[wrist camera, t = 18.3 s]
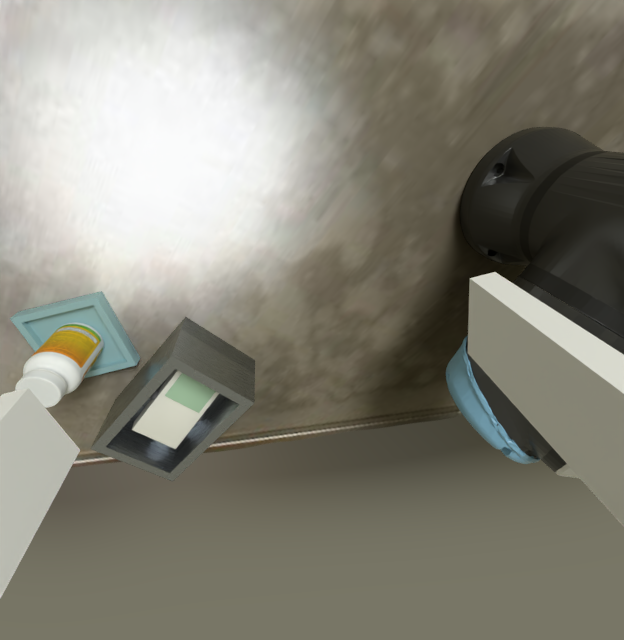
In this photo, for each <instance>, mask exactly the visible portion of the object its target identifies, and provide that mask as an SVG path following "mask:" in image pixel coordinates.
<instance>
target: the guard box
mask: <svg viewBox="0 0 624 640" xmlns="http://www.w3.org/2000/svg"><path fill="white" fill-rule="evenodd" d="M175 369H176V370H178V371H180V372H181V373H183V374H185V375H187V376H189V377H191V378H192V379H194V380H196V381H198V382H200V383H201V384H203V385H205V386H207V387H209V388H211V389H212V390H214V391H216V392H218V393H219V394H218V396H217V397H216V398H215V400H214V401H213V402H212V403H211V405H210V406H209V407H208V408H207V410H206V411H205V412H204V414H203V418H202V419H201V421H200V422H196V424H195V425H194V426H193V428H192V429H191V430H190V431H189V433H188V434H187V435H186V436H185V438H184V439H183V440H182V442H181V443H180V444H179V445H178V447H177V448H176V449H174V448H172V447H169V446H167V445H165V444H163V443H160V442H158V441H156V440H154V439H151V438H149V437H147V436H145V435H142V434H140V433H138V432H135V431H133V430H132V427H133V423H134V421H135V420H136V418H137V417H138V416H139V414H140V413H141V412H142V411H143V409H144V408H145V407H146V405H147V404H148V403H149V402H150V400H151V399H150V397H151V395H152V394H153V393H154V392H155V391H156V390H159V389H160V387H161V386H162V385H163V383H164V382H165V381H166V380H167V378H168V377H169V376H170V374H171V373H172V372H173V371H174V370H175ZM254 383H255V360H253V359H252V358H250V357H248V356H247V355H245V354H244V353H242V352H241V351H239V350H237V349H236V348H234V347H233V346H231V345H229V344H228V343H226V342H225V341H223V340H221V339H220V338H218V337H217V336H215V335H214V334H212V333H210V332H209V331H207V330H206V329H204V328H202V327H201V326H199V325H198V324H196V323H194V322H193V321H191V320H190V319H188V318H187V317H185V318H184V320H183V321H182V322H181V323H180V324H179V326H178V327H177V328H176V329H175V330H174V331H173V333H172V334H171V335H170V336H169V337H168V338H167V340H166V341H165V342H164V343H163V344H162V346H161V347H160V348H159V349H158V350H157V351H156V353H155V354H154V355H153V356H152V357H151V359H150V360H149V361H148V362H147V363H146V364H145V366H144V367H143V368H142V369H141V370H140V371H139V373H138V374H137V375H136V376H135V377H134V379H133V380H132V381H131V382H130V383H129V384H128V386H127V387H126V388H125V389H124V390H123V391H122V393H121V394H120V395H119V396H118V397H117V399H116V400H115V402H114V404H113V406H112V408H111V410H110V412H109V413H108V415H107V417H106V419H105V421H104V423H103V425H102V427H101V429H100V431H99V433H98V435H97V437H96V439H95V441H94V443H93V445H92V447H91V449H92V450H95V451H97V452H100V453H102V454H105V455H107V456H110V457H112V458H115V459H117V460H120V461H122V462H125V463H128V464H130V465H132V466H135V467H138V468H140V469H143V470H145V471H148V472H150V473H153V474H155V475H158V476H160V477H163V478H165V479H168V480H170V481H174V480H175V479H176V478H177V477H178V476H179V475H180V474H181V473H182V472H183V471H184V470H185V469H186V468H187V467H188V466H189V465H190V464H191V463H193V462H194V460H196V459H197V458H198V457H199V456H200V455H201V454H202V453H203V452H204V451H205V450H206V449H207V448H208V447H209V446H210V445H211V444H212V443H213V442H214V441H215V440H216V439H217V438H218V437H219V436H220V435H222V434H223V433H224V432H225V431H226V430H227V429H228V428H229V427H230V426H231V425H232V424H233V423H234V422H235V421H236V420H237V419H238V418H239V417H240V416H241V415H242V414H243V413H244V412H245V411H246V410H247V409H248V408H249V407H251V406H252V405H253V404H254Z"/></svg>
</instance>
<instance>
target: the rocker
mask: <svg viewBox="0 0 624 640" xmlns="http://www.w3.org/2000/svg"><path fill="white" fill-rule="evenodd" d="M218 394H219V393H218V392H216V391H214V390H212V389H211V388H209V387H207V386H205V385H203V384H201V383H200V382H198V381H196V380H194V379H192V378H191V377H189V376H187V375H185V374H183V373H181V372H180V371H178V370H176V369H175V370H174V371H173V372H172V373H171V374H170V376H169V377H168V378H167V380H166V381H165V382H164V383H163V385H162V386H161V387H160V389H159V390H156V391H155V392H154V393H153V394H152V395H151V397H150V399H151V400H150V402H149V403H148V404H147V405H146V407H145V408H144V409H143V411H142V412H141V413H140V414H139V416H138V417H137V418H136V420H135V421H134V423H133V427H132V430H133V431H135V432H138V433H140V434H142V435H145V436H147V437H149V438H151V439H154V440H156V441H158V442H160V443H163V444H165V445H167V446H169V447H172V448H174V449H176V448H177V447H178V445H179V444H180V443H181V442H182V440H183V439H184V438H185V436H186V435H187V434H188V433H189V431H190V430H191V429H192V428H193V426H194V425H195V424H196V422H200V421H201V419H202V418H203V414H204V412H205V411H206V410H207V408H208V407H209V406H210V405H211V403H212V402H213V401H214V400H215V398H216V397H217V396H218Z"/></svg>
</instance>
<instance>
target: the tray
mask: <svg viewBox="0 0 624 640" xmlns="http://www.w3.org/2000/svg"><path fill="white" fill-rule="evenodd" d="M10 319H11V321H12V322H13V323H14V324H15V326H16V327H17V328H18V330H19V331H20V332H21V334H22V335H23V336H24V338H25V339H26V340H27V342H28V343H29V344H30V345H31V347H32V348H33V349H34V351H35V352H36V351H37V350H38V349H39V348H40V347H41V346H42V345H43V344H44V343H45V342H46V341H47V340H48V339H49V338H50V336H51V335H52V334H53V333H54V332H55V331H56V330H57V329H58V328H59V327H61V326H62V325H64V324H67V323H73V322H77V323H83V324H86V325H89V326H91V327H93V328H94V329H95V330H96V331H98V332H99V334H100V335H101V337H102V338H103V342H104V348H103V350H102V352H101V354H100V356H99V357H98V359H97V360H96V362H95V363H94V364H93V366H92V367H91V369H90V370H89V372H88V373H87V375H86V376H85V378H87V377H91V376H96V375H100V374H104V373H108V372H112V371H116V370H120V369H124V368H128V367H132V366H136V365H137V363H138V361H139V359H140V357H139V355H138V353H137V351H136V350H135V348H134V346H133V345H132V343H131V341H130V339H129V338H128V336H127V334H126V332H125V331H124V329H123V327H122V325H121V324H120V322H119V320H118V319H117V317H116V315H115V313H114V312H113V310H112V308H111V306H110V305H109V303H108V301H107V299H106V298H105V296H104V294H103V293H102V291H101V292H97V293H93V294H89V295H85V296H81V297H77V298H73V299H69V300H64V301H60V302H56V303H52V304H48V305H44V306H40V307H36V308H32V309H28V310H24V311H20V312H17V313H16V314H15V315H14V316H12V317H11V318H10Z"/></svg>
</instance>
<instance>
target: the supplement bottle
mask: <svg viewBox="0 0 624 640" xmlns="http://www.w3.org/2000/svg"><path fill="white" fill-rule="evenodd" d="M103 348H104V342H103V338H102V337H101V335H100V334H99V332H98V331H96V330H95V329H94V328H93V327H91V326H89V325H86V324H83V323H77V322H73V323H67V324H64V325H62V326H61V327H59V328H58V329H57V330H56V331H55V332H54V333H53V334H52V335H51V336H50V338H49V339H48V340H47V341H46V342H45V343H44V344H43V345H42V346H41V347H40V348H39V349H38V350H37V351H36V352H35V353H34V354H33V355H32V356H31V357H30V358H29V360H28V361H27V362H26V363H25V365H24V368H23V377H22V378H21V379H20V380H19V381H18V383H17V385H16V389H15V390H16V391H18V390H22V389H26V388H29V389H30V390H31V391H32V393H33V394H34V395H35V396H36V397H37V399H38V400H39V401H40V402H41V403H42V405H43V406H44V407H45V408H47V407H51V406H54V405H56V404H57V403H58V402H59V401H60V400H61V399H62V397H63V396H64V395H65V394H68V393H71V392H73V391H74V390H75V389H76V388H77V387H78V386H79V385H80V384H81V382H82V381H83V379H84V378H85V376H86V375H87V373H88V372H89V370H90V369H91V367H92V366H93V364H94V363H95V362H96V360H97V359H98V357H99V356H100V354H101V352H102V350H103Z"/></svg>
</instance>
